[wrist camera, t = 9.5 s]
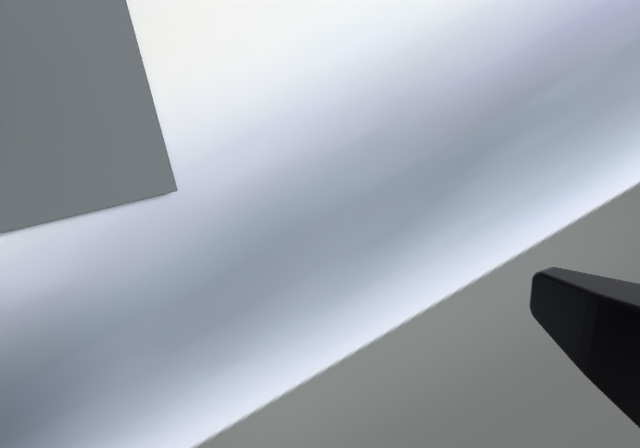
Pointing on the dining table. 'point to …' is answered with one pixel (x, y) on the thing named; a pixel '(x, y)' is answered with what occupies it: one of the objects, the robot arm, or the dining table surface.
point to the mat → (74, 112)
